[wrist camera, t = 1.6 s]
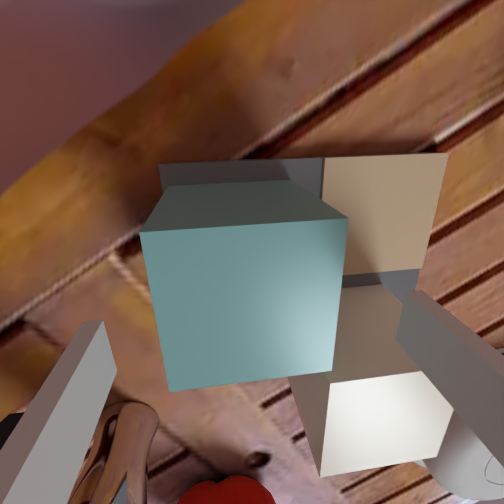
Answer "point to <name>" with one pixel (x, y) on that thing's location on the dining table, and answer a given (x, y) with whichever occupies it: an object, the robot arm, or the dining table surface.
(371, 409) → the ivory cuboid
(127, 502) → the beer glass
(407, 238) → the board
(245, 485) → the tomato
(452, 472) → the round ceiling alarm
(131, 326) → the dining table surface
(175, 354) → the seafoam cube
